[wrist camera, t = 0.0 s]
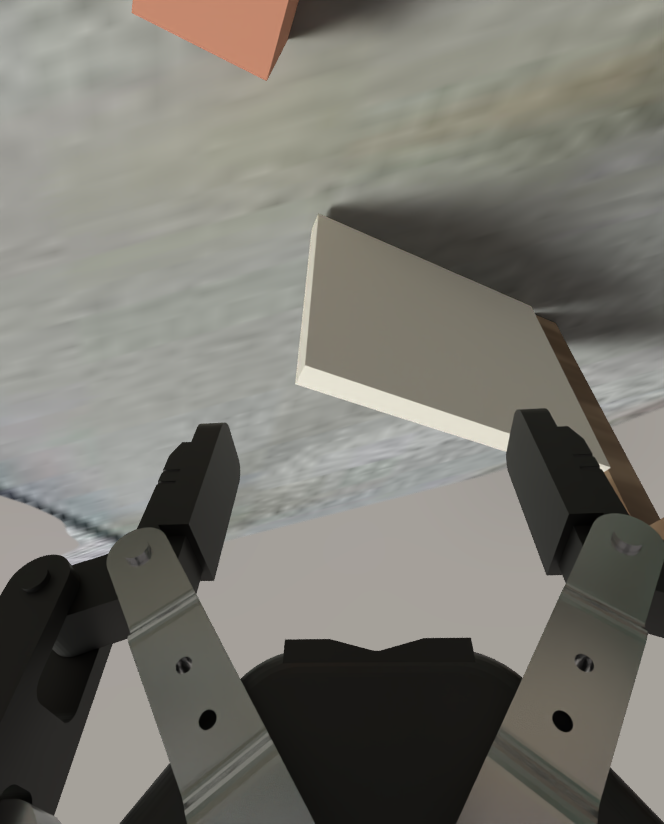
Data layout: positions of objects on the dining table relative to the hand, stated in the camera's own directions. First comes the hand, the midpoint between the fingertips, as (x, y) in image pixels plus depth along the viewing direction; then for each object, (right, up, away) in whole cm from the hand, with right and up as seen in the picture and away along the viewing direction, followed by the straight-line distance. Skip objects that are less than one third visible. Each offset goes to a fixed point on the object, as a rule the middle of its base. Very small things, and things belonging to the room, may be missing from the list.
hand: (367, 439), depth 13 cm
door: (+6, +10, +20) cm, 23 cm away
